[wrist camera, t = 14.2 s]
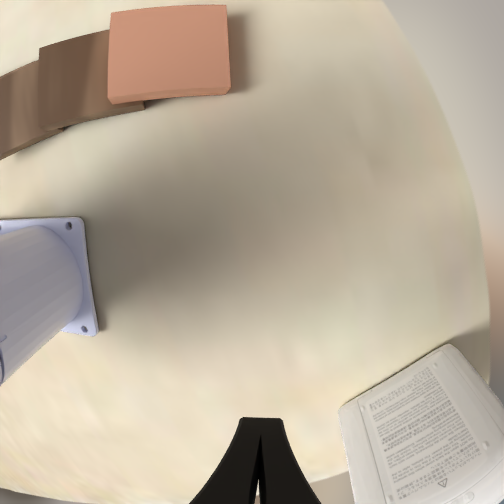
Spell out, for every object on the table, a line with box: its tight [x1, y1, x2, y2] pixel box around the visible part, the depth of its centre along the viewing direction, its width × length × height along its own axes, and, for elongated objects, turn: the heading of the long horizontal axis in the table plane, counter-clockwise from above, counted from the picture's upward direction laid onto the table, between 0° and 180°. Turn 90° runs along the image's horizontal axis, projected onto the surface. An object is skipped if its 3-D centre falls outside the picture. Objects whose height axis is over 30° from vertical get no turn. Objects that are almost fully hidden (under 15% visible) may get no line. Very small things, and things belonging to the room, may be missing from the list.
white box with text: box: [338, 344, 504, 504], centre depth 14 cm, size 10×4×12 cm, turn 125°
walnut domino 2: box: [38, 30, 145, 131], centre depth 14 cm, size 2×5×6 cm
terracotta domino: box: [108, 5, 231, 105], centre depth 14 cm, size 2×5×6 cm
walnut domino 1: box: [0, 60, 64, 160], centre depth 14 cm, size 2×5×6 cm
